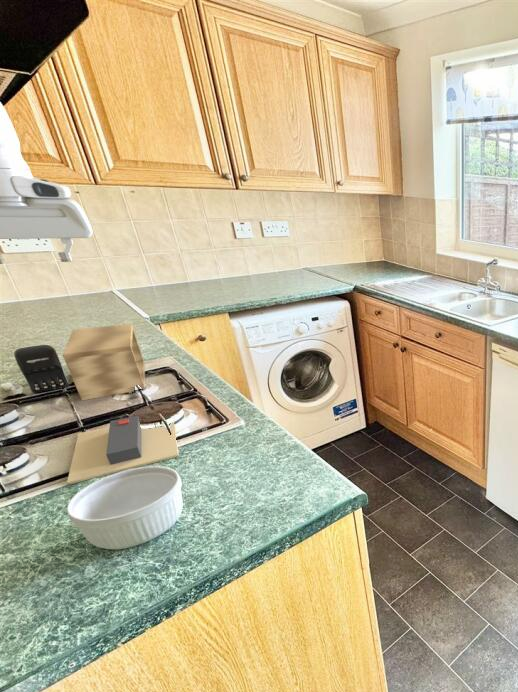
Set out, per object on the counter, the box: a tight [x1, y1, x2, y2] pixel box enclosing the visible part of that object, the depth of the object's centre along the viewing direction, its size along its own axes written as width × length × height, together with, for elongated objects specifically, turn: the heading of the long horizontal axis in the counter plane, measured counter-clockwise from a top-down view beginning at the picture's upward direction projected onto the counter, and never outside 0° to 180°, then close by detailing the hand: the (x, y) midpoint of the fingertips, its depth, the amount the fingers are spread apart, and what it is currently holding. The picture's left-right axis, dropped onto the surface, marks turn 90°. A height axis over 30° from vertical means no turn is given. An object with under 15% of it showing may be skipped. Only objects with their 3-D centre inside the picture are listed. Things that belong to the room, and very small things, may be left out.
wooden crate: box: [62, 323, 146, 401], centre depth 110 cm, size 12×21×12 cm, turn 38°
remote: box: [106, 415, 141, 465], centre depth 86 cm, size 5×15×3 cm, turn 38°
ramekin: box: [66, 465, 184, 550], centre depth 66 cm, size 13×13×7 cm
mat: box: [66, 421, 180, 485], centre depth 86 cm, size 16×20×1 cm
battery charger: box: [13, 343, 70, 394], centre depth 103 cm, size 7×4×11 cm, turn 137°
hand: (33, 262), depth 83 cm, fingers open, 8 cm apart
